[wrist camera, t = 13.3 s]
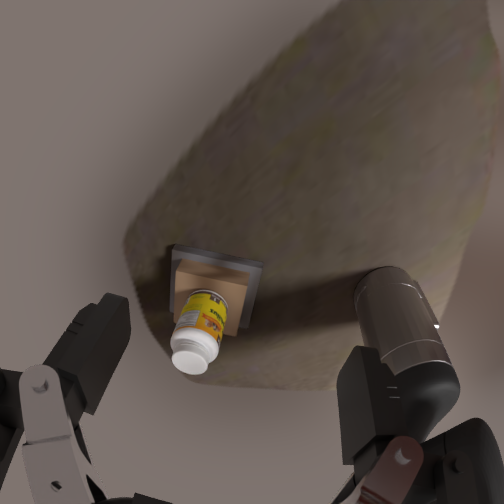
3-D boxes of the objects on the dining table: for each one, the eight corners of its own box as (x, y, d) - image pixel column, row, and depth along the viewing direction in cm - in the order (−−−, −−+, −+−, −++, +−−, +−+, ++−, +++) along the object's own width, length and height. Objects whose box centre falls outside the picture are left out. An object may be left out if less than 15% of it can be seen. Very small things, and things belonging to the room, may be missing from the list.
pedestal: (263, 262, 42) (261, 282, 38) (248, 322, 47) (245, 343, 43) (175, 244, 42) (164, 261, 38) (172, 305, 47) (163, 325, 43)
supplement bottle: (234, 317, 41) (222, 378, 32) (196, 322, 42) (177, 380, 33) (220, 283, 39) (203, 343, 30) (180, 290, 40) (155, 347, 31)
